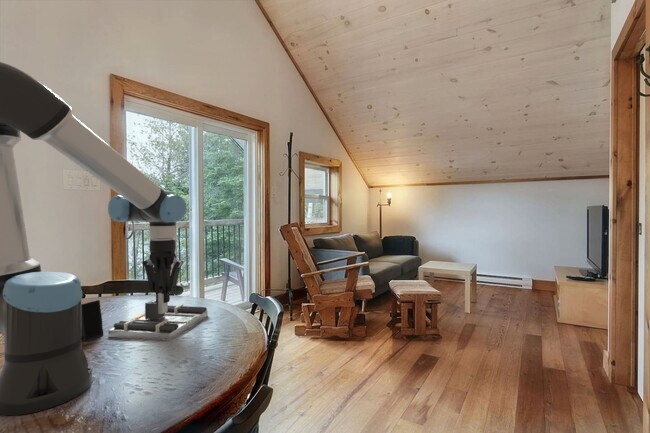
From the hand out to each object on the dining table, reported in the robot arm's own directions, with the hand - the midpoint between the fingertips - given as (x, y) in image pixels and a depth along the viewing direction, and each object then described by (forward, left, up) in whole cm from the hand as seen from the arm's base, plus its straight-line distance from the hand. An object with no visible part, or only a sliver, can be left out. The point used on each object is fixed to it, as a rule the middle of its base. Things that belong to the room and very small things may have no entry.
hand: (162, 312), depth 105 cm
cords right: (+8, -1, -2) cm, 8 cm away
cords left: (-9, -1, -2) cm, 9 cm away
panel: (-1, -1, -4) cm, 4 cm away
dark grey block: (0, +3, -2) cm, 3 cm away
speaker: (-12, +15, -4) cm, 20 cm away
